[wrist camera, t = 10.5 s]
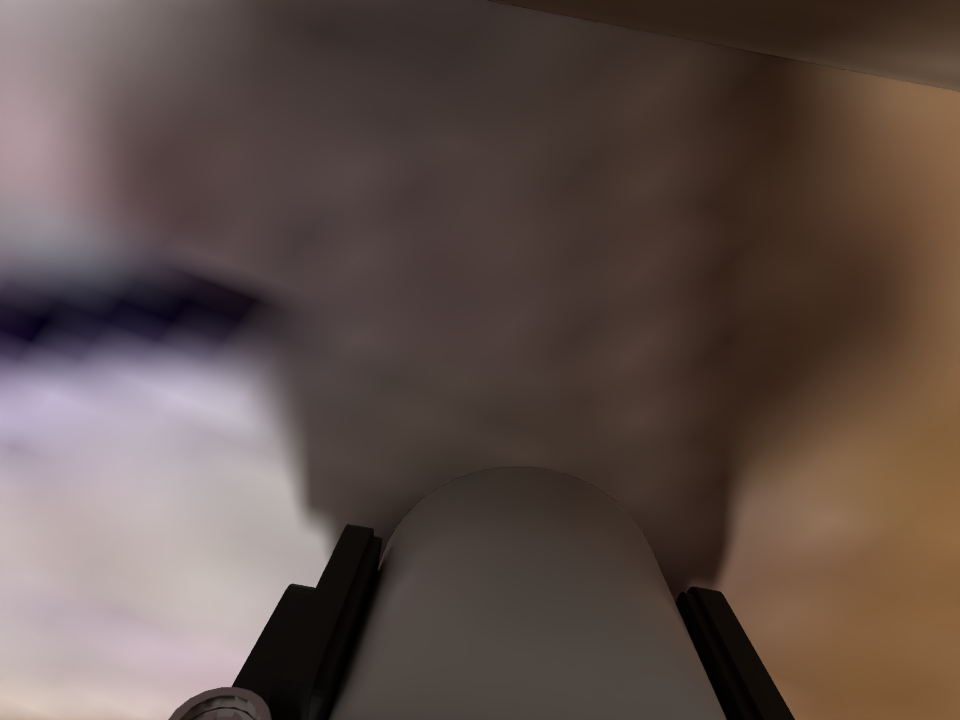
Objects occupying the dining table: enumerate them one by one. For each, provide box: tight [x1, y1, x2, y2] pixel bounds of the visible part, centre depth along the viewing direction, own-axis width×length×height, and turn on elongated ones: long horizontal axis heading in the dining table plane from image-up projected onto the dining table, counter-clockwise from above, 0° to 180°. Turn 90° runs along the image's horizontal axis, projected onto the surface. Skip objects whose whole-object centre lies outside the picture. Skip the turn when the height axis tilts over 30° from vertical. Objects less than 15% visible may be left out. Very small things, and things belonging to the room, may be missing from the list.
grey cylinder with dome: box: [328, 467, 727, 720], centre depth 10 cm, size 6×6×5 cm
